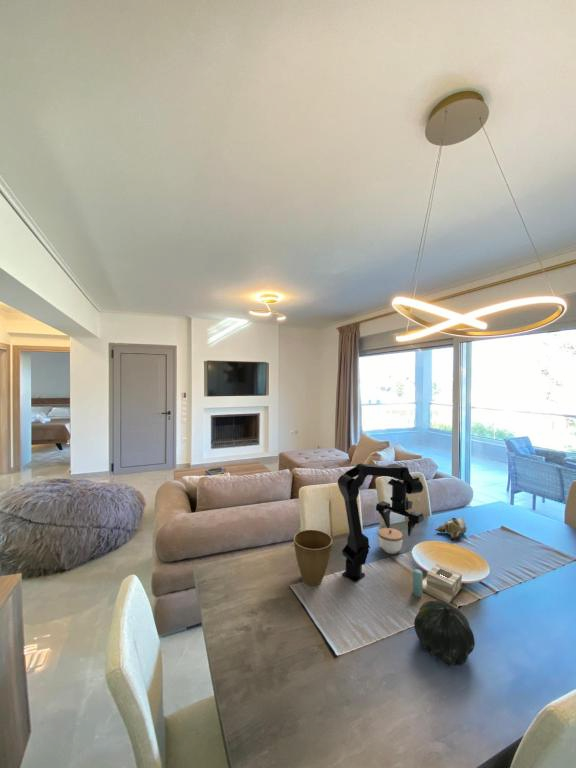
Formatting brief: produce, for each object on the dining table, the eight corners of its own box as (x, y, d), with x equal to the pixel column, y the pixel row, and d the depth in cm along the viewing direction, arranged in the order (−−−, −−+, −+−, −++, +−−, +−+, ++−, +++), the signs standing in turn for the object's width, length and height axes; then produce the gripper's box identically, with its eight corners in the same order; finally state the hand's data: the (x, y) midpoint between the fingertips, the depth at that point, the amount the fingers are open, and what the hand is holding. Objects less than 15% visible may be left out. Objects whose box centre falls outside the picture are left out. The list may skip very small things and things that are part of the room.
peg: (419, 598, 110) (419, 575, 110) (411, 593, 112) (411, 571, 112) (423, 594, 112) (423, 571, 112) (415, 589, 114) (415, 568, 114)
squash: (426, 601, 101) (418, 582, 93) (479, 625, 91) (476, 607, 83) (414, 651, 93) (404, 635, 85) (472, 684, 83) (466, 669, 75)
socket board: (448, 603, 107) (448, 589, 107) (417, 588, 115) (417, 574, 115) (461, 587, 116) (461, 574, 116) (431, 574, 124) (431, 561, 124)
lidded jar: (406, 556, 136) (406, 535, 136) (381, 556, 137) (381, 535, 137) (398, 544, 147) (398, 524, 147) (375, 543, 147) (375, 524, 147)
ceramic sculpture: (472, 518, 155) (452, 526, 148) (473, 535, 155) (453, 544, 149) (453, 510, 164) (433, 517, 158) (454, 527, 165) (434, 534, 158)
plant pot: (286, 585, 117) (286, 542, 117) (303, 564, 130) (303, 526, 130) (323, 597, 110) (323, 552, 110) (337, 574, 123) (337, 534, 123)
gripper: (429, 496, 130) (428, 533, 130) (387, 485, 143) (387, 519, 143) (418, 503, 122) (417, 542, 122) (375, 491, 136) (374, 526, 136)
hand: (398, 532), depth 131 cm, fingers open, 9 cm apart
